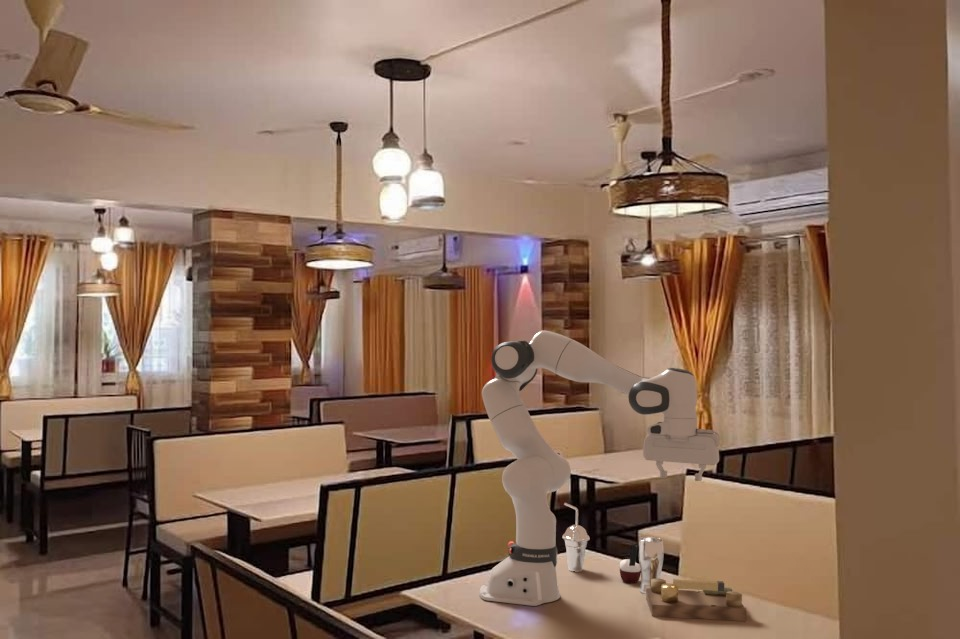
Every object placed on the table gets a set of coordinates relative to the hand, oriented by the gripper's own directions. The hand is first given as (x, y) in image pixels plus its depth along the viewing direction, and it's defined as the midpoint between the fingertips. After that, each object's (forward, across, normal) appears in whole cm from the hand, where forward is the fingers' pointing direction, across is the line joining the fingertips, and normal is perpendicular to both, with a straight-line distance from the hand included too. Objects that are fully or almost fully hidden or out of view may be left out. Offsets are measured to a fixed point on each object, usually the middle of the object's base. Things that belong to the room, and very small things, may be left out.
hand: (680, 479), depth 223 cm
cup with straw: (+34, +39, -18) cm, 55 cm away
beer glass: (+35, +12, -9) cm, 38 cm away
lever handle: (+31, -4, +2) cm, 32 cm away
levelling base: (+35, -3, -1) cm, 35 cm away
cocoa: (+35, +20, -15) cm, 43 cm away
